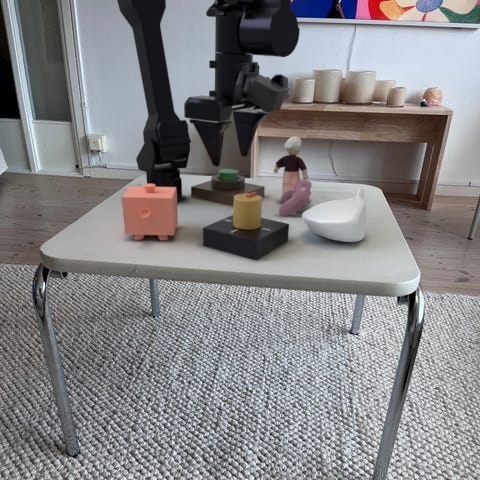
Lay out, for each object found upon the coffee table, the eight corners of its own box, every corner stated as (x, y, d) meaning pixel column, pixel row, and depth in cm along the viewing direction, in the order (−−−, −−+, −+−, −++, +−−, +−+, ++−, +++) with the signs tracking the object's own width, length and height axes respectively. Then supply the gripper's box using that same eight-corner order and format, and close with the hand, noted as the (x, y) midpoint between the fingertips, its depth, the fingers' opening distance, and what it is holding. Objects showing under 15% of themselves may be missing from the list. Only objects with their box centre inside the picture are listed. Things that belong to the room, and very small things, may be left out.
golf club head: (391, 186, 79) (346, 164, 72) (381, 249, 80) (336, 234, 72) (341, 192, 87) (296, 173, 80) (332, 250, 88) (287, 236, 80)
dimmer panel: (203, 245, 76) (202, 226, 74) (237, 229, 83) (237, 211, 82) (256, 260, 71) (257, 240, 70) (288, 241, 78) (289, 222, 77)
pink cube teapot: (121, 247, 74) (116, 195, 70) (135, 223, 84) (131, 175, 80) (172, 248, 74) (169, 196, 70) (179, 223, 85) (177, 176, 81)
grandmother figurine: (309, 201, 98) (315, 136, 92) (304, 206, 95) (310, 139, 89) (274, 196, 101) (278, 133, 94) (268, 201, 98) (271, 135, 91)
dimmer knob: (251, 231, 73) (252, 200, 71) (227, 226, 75) (228, 195, 73) (265, 224, 76) (267, 194, 74) (242, 219, 78) (243, 190, 76)
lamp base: (191, 197, 100) (190, 177, 98) (218, 187, 107) (218, 169, 105) (238, 207, 94) (239, 187, 92) (264, 196, 102) (265, 177, 100)
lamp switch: (214, 179, 98) (214, 171, 98) (225, 176, 101) (225, 168, 101) (230, 182, 97) (230, 174, 96) (241, 179, 100) (241, 170, 99)
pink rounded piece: (297, 225, 90) (317, 193, 87) (276, 213, 89) (296, 181, 86) (298, 210, 99) (316, 180, 95) (279, 199, 98) (297, 169, 95)
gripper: (251, 57, 61) (246, 180, 69) (307, 56, 75) (297, 158, 83) (180, 52, 65) (183, 168, 73) (246, 52, 80) (242, 149, 87)
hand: (231, 160), depth 79 cm, fingers open, 9 cm apart
